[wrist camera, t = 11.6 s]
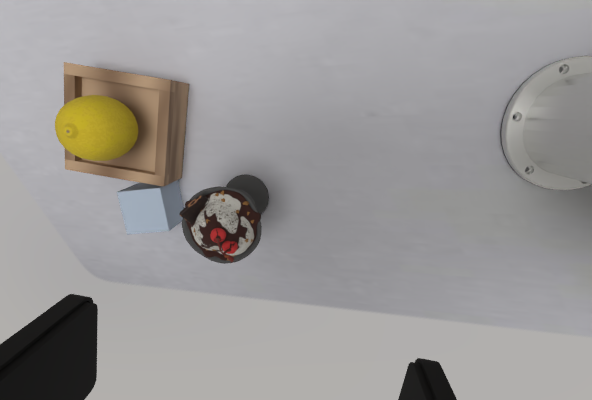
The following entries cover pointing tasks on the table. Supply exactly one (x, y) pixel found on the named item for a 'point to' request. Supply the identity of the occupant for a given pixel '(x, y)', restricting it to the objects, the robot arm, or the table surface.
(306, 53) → the table surface
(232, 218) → the sundae
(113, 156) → the lemon
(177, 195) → the slate cube
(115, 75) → the wooden open box
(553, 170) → the robot arm
